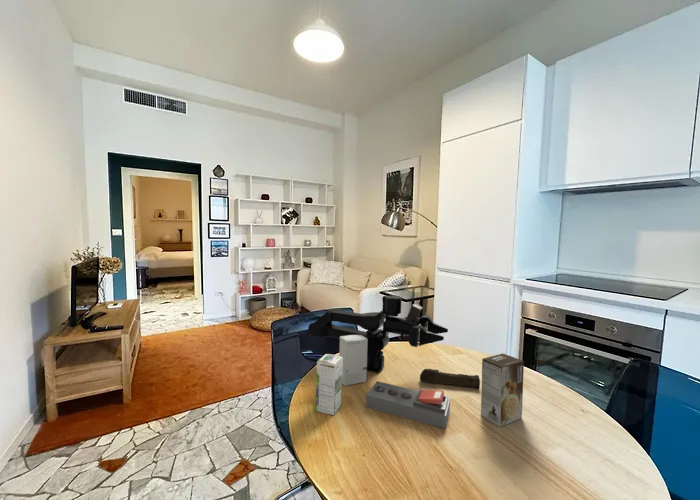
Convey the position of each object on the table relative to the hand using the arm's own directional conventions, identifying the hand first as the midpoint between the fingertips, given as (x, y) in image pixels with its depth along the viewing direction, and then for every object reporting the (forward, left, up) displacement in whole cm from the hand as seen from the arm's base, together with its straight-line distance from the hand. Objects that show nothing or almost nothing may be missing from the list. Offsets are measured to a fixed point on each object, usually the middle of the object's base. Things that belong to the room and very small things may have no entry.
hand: (445, 334), depth 99 cm
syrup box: (-27, -30, -17) cm, 44 cm away
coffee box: (+17, -12, -17) cm, 27 cm away
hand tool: (+2, 0, -17) cm, 17 cm away
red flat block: (-1, -20, -12) cm, 23 cm away
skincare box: (-28, -12, -17) cm, 35 cm away
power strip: (-7, -20, -17) cm, 27 cm away
